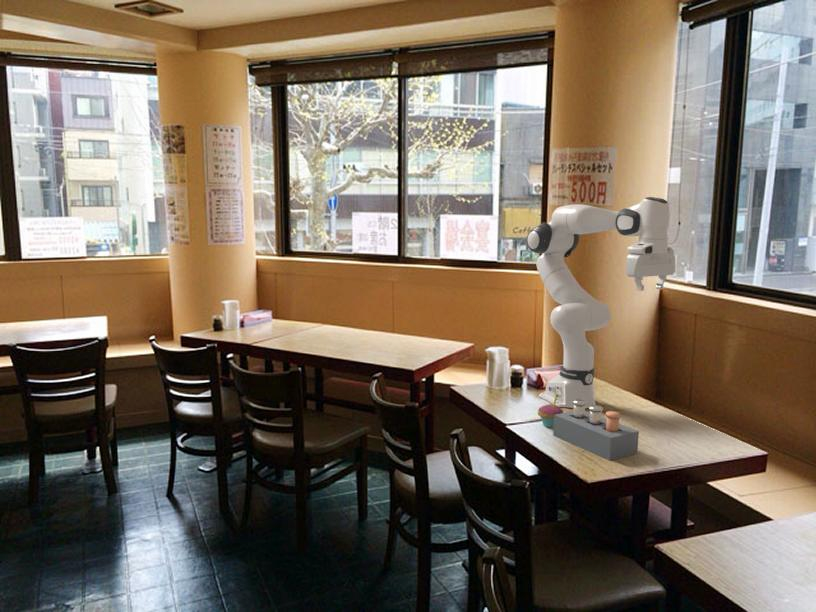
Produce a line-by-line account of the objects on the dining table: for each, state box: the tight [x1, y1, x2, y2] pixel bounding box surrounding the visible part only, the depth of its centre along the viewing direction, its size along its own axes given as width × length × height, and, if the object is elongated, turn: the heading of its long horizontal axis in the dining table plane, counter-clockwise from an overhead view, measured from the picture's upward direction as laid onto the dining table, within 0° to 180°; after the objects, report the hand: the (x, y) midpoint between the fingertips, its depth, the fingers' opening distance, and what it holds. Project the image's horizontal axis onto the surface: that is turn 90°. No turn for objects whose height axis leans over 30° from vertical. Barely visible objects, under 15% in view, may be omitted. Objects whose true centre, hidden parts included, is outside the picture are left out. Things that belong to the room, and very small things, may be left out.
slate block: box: [552, 410, 640, 461], centre depth 202 cm, size 24×12×7 cm, turn 30°
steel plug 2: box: [588, 404, 604, 426], centre depth 202 cm, size 4×4×8 cm
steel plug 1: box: [572, 399, 586, 419], centre depth 208 cm, size 4×4×8 cm
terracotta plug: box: [605, 410, 621, 433], centre depth 196 cm, size 4×4×8 cm
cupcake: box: [537, 391, 564, 428], centre depth 219 cm, size 9×8×12 cm
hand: (649, 289), depth 211 cm, fingers open, 8 cm apart
